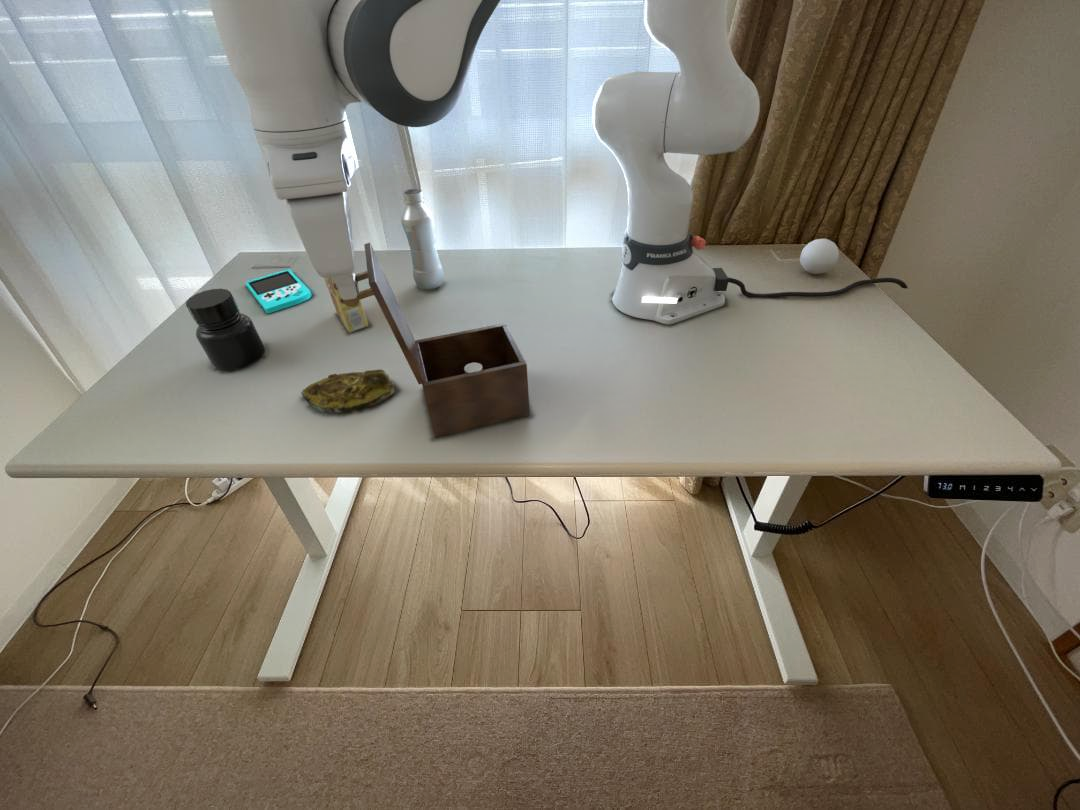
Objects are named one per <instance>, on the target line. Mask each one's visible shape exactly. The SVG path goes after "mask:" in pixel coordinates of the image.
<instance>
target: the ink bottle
mask: <svg viewBox="0 0 1080 810" xmlns="http://www.w3.org/2000/svg"><path fill="white" fill-rule="evenodd" d="M185 307H186V308H187V310H188V312H189V313H190V315H191V317H192V319H193V321H194V322H195V323H196V325H198V326H197V328H196V330H195V337H196V340H197V341H198V343H199V344H200V346H201V348H202V349H203V351H204V353H205V355H206V356H207V358H208V360H209V361H210V363H211V365H212V366H213V367H214V368H216V369H217V370H220V371H234V370H235V371H236V370H240V369H243V368H246V367H248V366H251V365H252V364H254V363H256V362H258V361H259V360H260V359H261V358H262V357H263V356H264V355H265V351H266V348H265V345H264V344H263V341H262V338H261V336H260V335H259V332H258V330H257V329H256V326H255V324H254V322H253V320H252V319H251V317H250V316H248V315H247V314H245V313H241V312H240V309H239V306H238V304H237V302H236V299H235V298H234V296H233V294H232V292H231V291H230V290H229V289H226V288H211V289H207V290H203V291H200V292H198V293H195V294H194V295H192V296H190V297H189V298H188V299H187V300H186V301H185Z"/></svg>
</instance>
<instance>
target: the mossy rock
mask: <svg viewBox="0 0 1080 810" xmlns="http://www.w3.org/2000/svg"><path fill="white" fill-rule="evenodd" d="M394 393H396V385H395V384H394V382H393V381H392V380H390V376H389V374H388V373H387V372H386V370H384V369H372V370H365V371H361V372H359V371H357V372H355V371H353V372H343V373H338V374H337V373H331V374H328V376H327V377H324V378H322V379H321V380H318V381H316V382H313V383H311V384H309V385H308V386H306V387H305V388H304V389H302V391H301V396H302V397H303V398H304V400H305V401H306V402H307V404H308V406H310V407H311V408H312V409H314V410H316V411H319V412H322V413H326V414H341V413H347V412H350V411H356V410H362V409H363V410H364V409H366V408H370V407H373V406H375V405H378V404H379V403H382V402H384V401H385V400H387V399H388V398H389V397H391V396H392V395H393V394H394Z"/></svg>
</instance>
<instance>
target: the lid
mask: <svg viewBox="0 0 1080 810" xmlns="http://www.w3.org/2000/svg"><path fill="white" fill-rule="evenodd" d="M363 246H364V247H363V248H364V255H365V263H366V271H362V272H360V273H357V274H356V273H354V272H353V273H352V276H353V279H354V282H355V286H356V289H357V297H356V298H355V299H349V300H343V301H344V303H345V305H347V306H349V307H355V306H357V305H358V304H359V300H361V301H362V300H364V299H366V298H370V297H372V296H374V297H375V299H376V301H377V303H378V305H379V308H380V309H381V311H382V314H383V315H384V317H385V320H386V322H387V324H388V326H389V327H390V329H391V331H392V333H393V335H394V337H395V340H396V341H397V344H398V345H399V347H400V350H401V351H402V354H403V356H404V358H405V360H406V361H407V363H408V365H409V368H410V370H411V372H412V373H413V375H414V378H415V380H416V381H417V384H418V385H422V383H424V378H423V374H422V369H421V365H420V361H419V356H418V352H417V348H416V343H415V340H416V339H415V336H414V334H413V332H412V329H411V328H410V325H409V323H408V320H407V319H406V317H405V314H404V312H403V310H402V308H401V305H400V303H399V301H398V300H397V297H396V295H395V293H394V291H393V289H392V286H391V284H390V282H389V280H388V277H387V276H386V274H385V271H384V269H383V267H382V265H381V263H380V261H379V259H378V257H377V253H376V251H375V250H374V248H373V246H372V244H371V242H367V243H365V244H364V245H363ZM363 280H368V285H369V288H367V289H364V290H361V291H360V290H359V289H360V288H359V282H361V281H363Z"/></svg>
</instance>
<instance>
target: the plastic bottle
mask: <svg viewBox="0 0 1080 810" xmlns="http://www.w3.org/2000/svg"><path fill="white" fill-rule="evenodd" d="M402 195H403V196H402V197H403V203H404V204H405V206H404V209H403V210H402V211H403V212H402V213H401V216H400V222H401V226H402V229H403V231H404V234H405V236H406V238H407V242H408V246H409V250H410V255H411V261H412V274H413V275H412V277H413V280H414V283H415V284H416V286H417V287H419V289H422V290H433V289H437V288H439V287H440V286H442V285H443V282H444V281H445V272H444V268H443V266H442V263H441V260H440V257H439V254H438V253H439V252H438V250H437V245H436V242H437V241H436V236H435V235H436V234H435V217H434V215H433V213H432V211H431V210H430V209H429V207H428V206H427V205H426V204H424V201H425V198H424V194H423V190H422V189H420V188H409V189H405V190H403V191H402Z"/></svg>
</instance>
